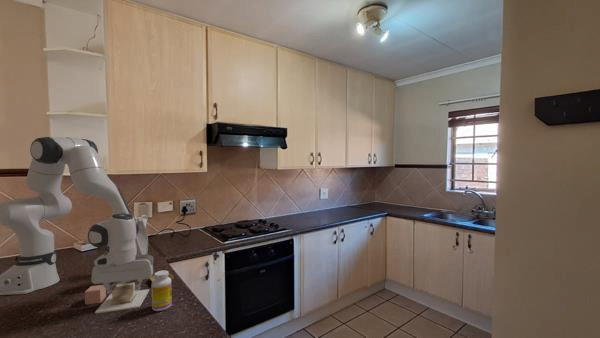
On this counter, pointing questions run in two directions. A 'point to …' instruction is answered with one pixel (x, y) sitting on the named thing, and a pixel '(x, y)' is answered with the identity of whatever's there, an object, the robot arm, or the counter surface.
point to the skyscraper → (142, 236)
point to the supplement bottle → (161, 291)
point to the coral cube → (95, 294)
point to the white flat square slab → (134, 303)
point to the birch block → (123, 293)
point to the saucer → (168, 276)
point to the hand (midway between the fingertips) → (123, 291)
